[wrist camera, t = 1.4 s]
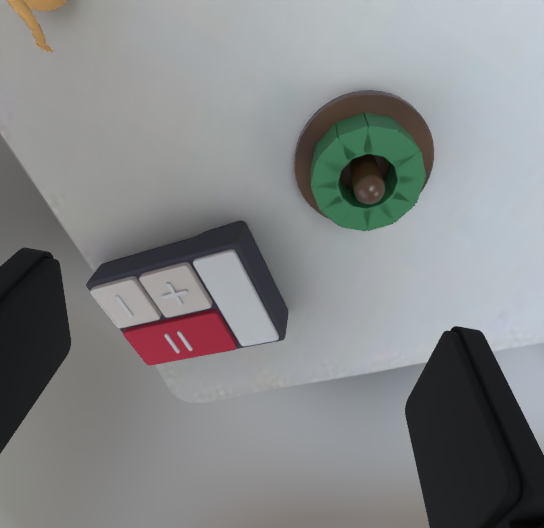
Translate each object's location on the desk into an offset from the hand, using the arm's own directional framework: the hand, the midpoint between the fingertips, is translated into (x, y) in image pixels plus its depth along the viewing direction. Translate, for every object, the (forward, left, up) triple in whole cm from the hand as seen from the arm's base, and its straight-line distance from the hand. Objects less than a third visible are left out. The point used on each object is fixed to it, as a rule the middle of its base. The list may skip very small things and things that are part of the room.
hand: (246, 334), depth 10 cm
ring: (+3, +6, -22) cm, 23 cm away
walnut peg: (+3, +6, -23) cm, 24 cm away
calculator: (+18, -6, -23) cm, 30 cm away
